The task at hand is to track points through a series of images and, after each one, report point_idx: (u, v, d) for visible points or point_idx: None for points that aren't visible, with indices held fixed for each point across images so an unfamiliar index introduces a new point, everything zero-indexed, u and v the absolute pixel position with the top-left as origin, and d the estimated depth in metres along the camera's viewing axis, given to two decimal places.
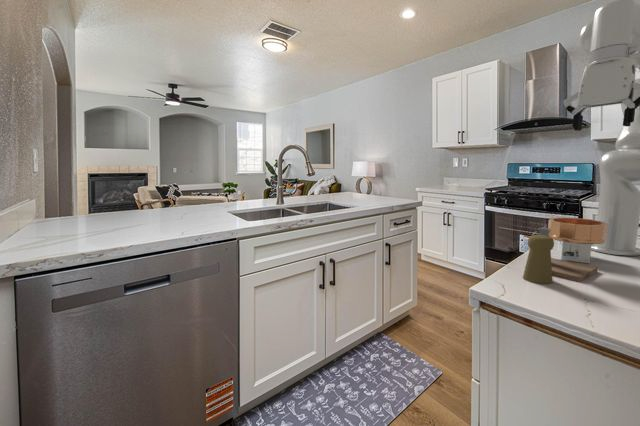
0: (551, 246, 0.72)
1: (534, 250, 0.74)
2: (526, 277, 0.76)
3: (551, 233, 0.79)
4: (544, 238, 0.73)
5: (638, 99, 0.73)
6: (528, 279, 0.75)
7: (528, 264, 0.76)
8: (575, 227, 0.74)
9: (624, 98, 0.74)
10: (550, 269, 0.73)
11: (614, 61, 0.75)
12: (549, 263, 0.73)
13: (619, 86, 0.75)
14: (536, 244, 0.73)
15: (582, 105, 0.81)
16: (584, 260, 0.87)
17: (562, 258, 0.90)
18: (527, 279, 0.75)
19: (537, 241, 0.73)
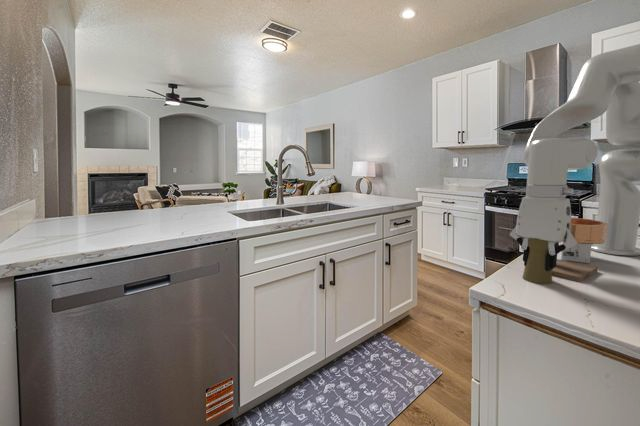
0: None
1: (534, 249, 0.74)
2: (526, 277, 0.76)
3: None
4: None
5: (558, 247, 0.71)
6: (528, 279, 0.75)
7: (527, 263, 0.76)
8: (575, 227, 0.74)
9: (559, 241, 0.70)
10: None
11: (548, 201, 0.70)
12: None
13: (554, 228, 0.70)
14: (536, 244, 0.73)
15: (520, 236, 0.77)
16: (584, 260, 0.87)
17: (562, 258, 0.90)
18: (527, 279, 0.75)
19: (537, 241, 0.73)
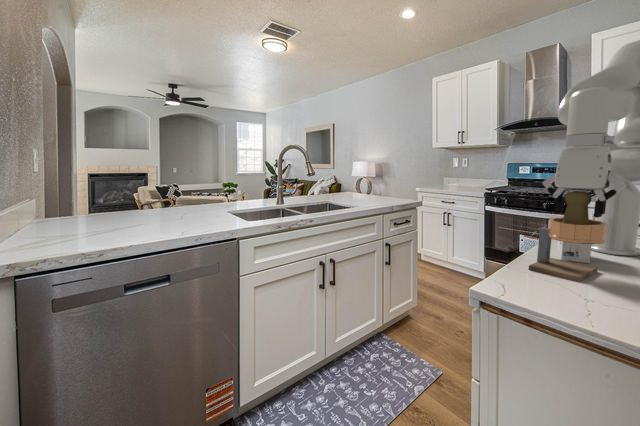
0: (589, 200, 0.75)
1: (572, 204, 0.77)
2: None
3: (551, 233, 0.79)
4: (582, 193, 0.76)
5: (608, 193, 0.72)
6: None
7: (565, 219, 0.78)
8: (575, 227, 0.74)
9: (600, 188, 0.72)
10: (588, 223, 0.76)
11: (590, 149, 0.73)
12: (587, 217, 0.76)
13: (595, 175, 0.72)
14: (574, 199, 0.76)
15: (559, 187, 0.79)
16: (584, 260, 0.87)
17: (562, 258, 0.90)
18: None
19: (575, 196, 0.76)
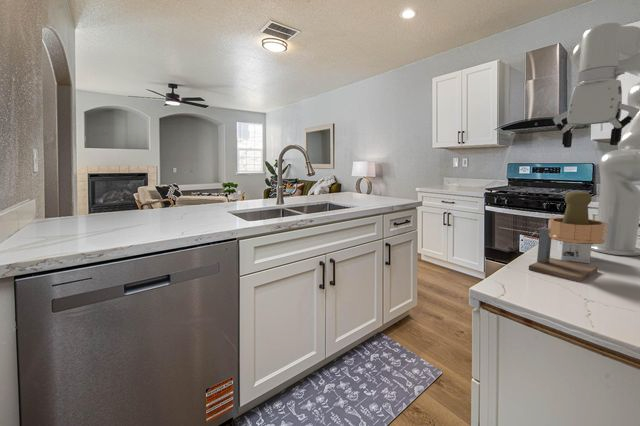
0: (589, 200, 0.75)
1: (572, 204, 0.77)
2: None
3: (551, 233, 0.79)
4: (582, 193, 0.76)
5: (624, 119, 0.76)
6: None
7: (565, 219, 0.78)
8: (575, 227, 0.74)
9: (611, 118, 0.77)
10: (588, 223, 0.76)
11: (601, 82, 0.77)
12: (587, 217, 0.76)
13: (606, 107, 0.77)
14: (574, 199, 0.76)
15: (571, 123, 0.84)
16: (584, 260, 0.87)
17: (562, 258, 0.90)
18: None
19: (575, 196, 0.76)
